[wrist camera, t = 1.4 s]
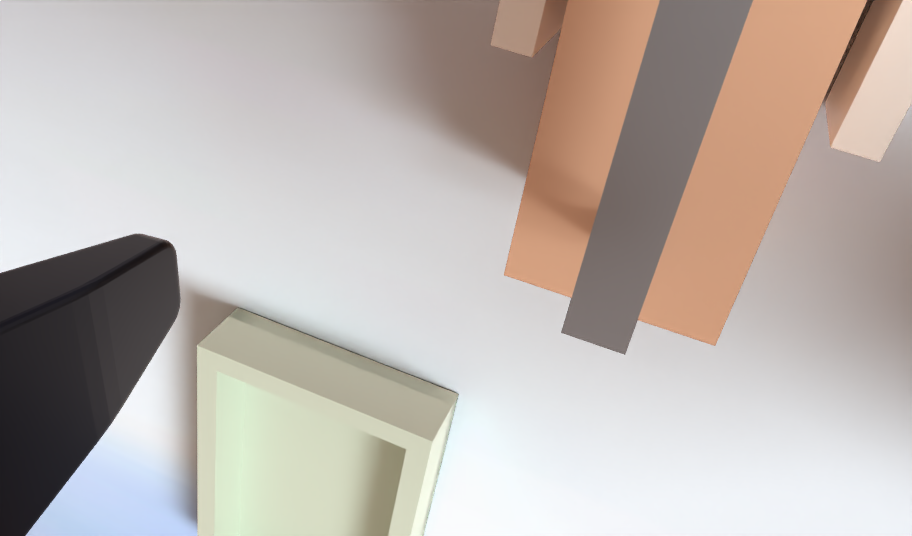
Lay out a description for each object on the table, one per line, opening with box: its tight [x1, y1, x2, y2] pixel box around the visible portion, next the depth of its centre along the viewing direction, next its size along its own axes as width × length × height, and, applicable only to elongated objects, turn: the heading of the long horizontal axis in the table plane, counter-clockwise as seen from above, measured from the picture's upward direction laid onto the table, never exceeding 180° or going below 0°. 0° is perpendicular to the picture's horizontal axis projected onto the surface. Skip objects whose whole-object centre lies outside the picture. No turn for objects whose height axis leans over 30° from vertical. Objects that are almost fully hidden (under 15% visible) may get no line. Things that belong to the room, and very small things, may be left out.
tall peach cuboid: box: [504, 0, 867, 354], centre depth 16 cm, size 5×10×9 cm, turn 170°
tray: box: [197, 308, 459, 536], centre depth 31 cm, size 9×14×2 cm, turn 169°
